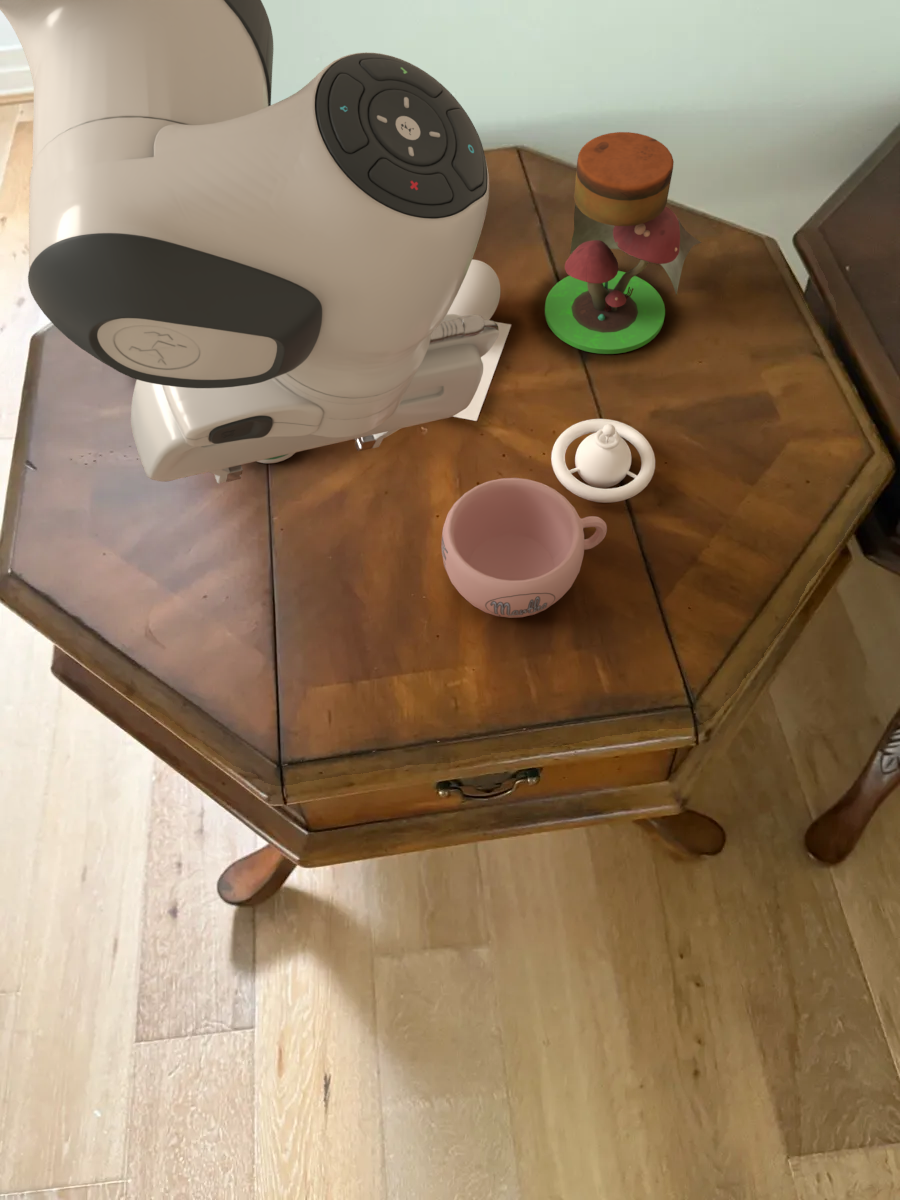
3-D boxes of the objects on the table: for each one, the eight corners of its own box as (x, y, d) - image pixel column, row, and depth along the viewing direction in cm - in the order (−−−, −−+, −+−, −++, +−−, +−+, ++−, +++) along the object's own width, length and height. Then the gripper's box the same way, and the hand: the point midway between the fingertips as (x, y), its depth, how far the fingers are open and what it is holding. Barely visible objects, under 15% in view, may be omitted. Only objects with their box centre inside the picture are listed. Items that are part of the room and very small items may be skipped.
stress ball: (463, 322, 90) (426, 260, 87) (530, 302, 85) (493, 235, 82) (425, 371, 87) (385, 309, 83) (493, 353, 81) (453, 286, 78)
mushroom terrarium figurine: (661, 376, 82) (695, 221, 69) (521, 340, 85) (529, 185, 72) (695, 289, 88) (732, 132, 75) (563, 258, 91) (577, 102, 78)
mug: (461, 648, 68) (460, 603, 63) (429, 539, 73) (425, 488, 68) (624, 611, 69) (635, 564, 64) (580, 506, 75) (587, 455, 70)
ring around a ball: (619, 423, 79) (531, 455, 77) (630, 373, 74) (536, 406, 73) (670, 494, 75) (579, 529, 74) (684, 446, 70) (587, 483, 69)
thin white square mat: (511, 324, 86) (511, 311, 85) (476, 420, 80) (476, 408, 78) (383, 302, 88) (381, 288, 87) (339, 394, 82) (337, 381, 80)
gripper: (488, 264, 54) (424, 381, 67) (117, 325, 47) (124, 444, 60) (529, 363, 53) (455, 463, 66) (155, 442, 46) (154, 537, 59)
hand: (296, 454), depth 63 cm, fingers open, 8 cm apart
